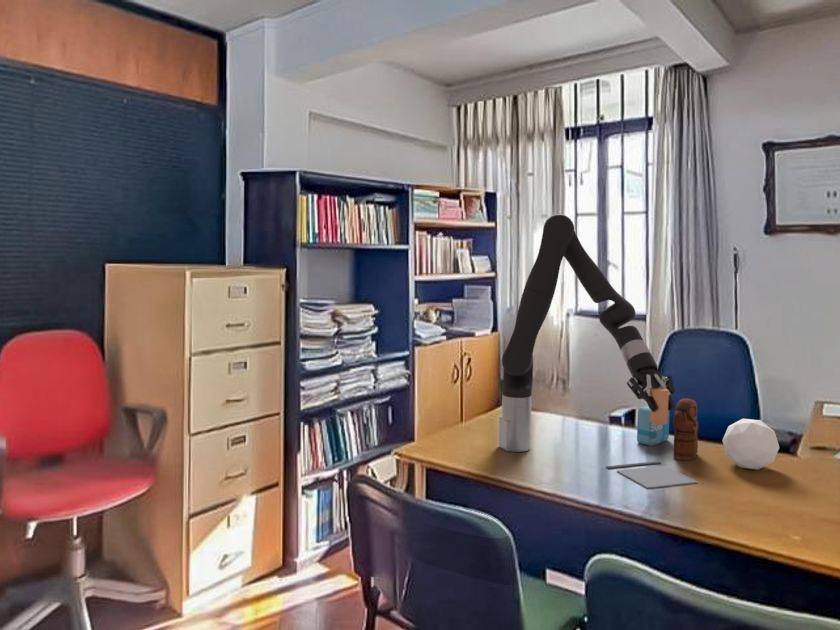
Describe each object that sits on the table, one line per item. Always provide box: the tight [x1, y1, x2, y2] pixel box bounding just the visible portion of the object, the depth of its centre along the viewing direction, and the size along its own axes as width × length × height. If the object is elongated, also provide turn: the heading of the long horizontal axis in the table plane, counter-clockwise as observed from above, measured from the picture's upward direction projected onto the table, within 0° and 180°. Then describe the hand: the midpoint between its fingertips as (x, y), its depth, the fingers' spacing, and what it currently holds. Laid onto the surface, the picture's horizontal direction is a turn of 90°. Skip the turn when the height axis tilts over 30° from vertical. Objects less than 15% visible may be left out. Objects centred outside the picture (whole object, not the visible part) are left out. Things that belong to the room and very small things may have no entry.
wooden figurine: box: [672, 397, 700, 461], centre depth 204 cm, size 12×6×18 cm, turn 146°
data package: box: [636, 405, 671, 447], centre depth 219 cm, size 12×4×12 cm, turn 129°
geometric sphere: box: [722, 418, 780, 471], centre depth 194 cm, size 14×15×15 cm
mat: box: [605, 460, 699, 490], centre depth 187 cm, size 18×18×1 cm
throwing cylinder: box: [650, 387, 669, 425], centre depth 183 cm, size 5×5×9 cm
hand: (663, 409), depth 182 cm, fingers closed on throwing cylinder, 4 cm apart
